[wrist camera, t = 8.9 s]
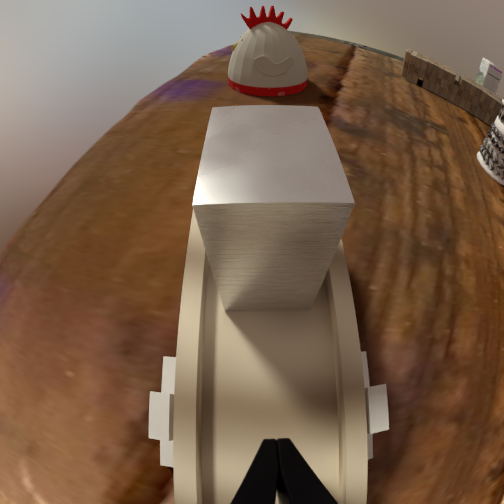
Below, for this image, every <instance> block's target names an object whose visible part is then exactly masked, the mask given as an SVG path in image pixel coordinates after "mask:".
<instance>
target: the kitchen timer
mask: <svg viewBox="0 0 504 504" xmlns="http://www.w3.org/2000/svg"><path fill="white" fill-rule="evenodd" d="M283 15H284V12H280V14H279V15H278V16H277V17H276V16H275V10H274V6H271V8H270V12H269V16H268V17H266V13H265V9H264V6H262V8H261V11H260V16H259V17H256V15H255V13H254V11H253V8H252V7H250V17H249V18H246V17H245V16H244V15H243V14H241V16H242V18H243V20H244V21H245V23H246V24H247V26H248V27H249V29H248V30H247V31H246V32H245V33H244V34H243V35H242V36H241V37H240V39H239V40H238V42H237V43H236V44H235V45H234V46H233V47H232V49H233V53H232V56H231V59H230V63H229V68H228V81H229V86H230V87H231V88H232V89H234V90H236V91H238V92H241V93H245V94H249V95H257V96H284V95H291V94H295V93H298V92H300V91H303V90H304V89H305V88H306V87H307V66H306V62H305V59H304V55H303V52H302V49H301V47H300V45H299V43H298V42H297V40H296V39H295V37H294V36H293V35H292V34H291V33H290V32H289V31H288V30H287V28H288V27H289V25H290V24H291V22H292V18H290V19H289V20H288V21H287V22H286V23H285V24H282V18H283Z"/></svg>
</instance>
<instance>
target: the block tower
mask: <svg viewBox="0 0 504 504" xmlns="http://www.w3.org/2000/svg"><path fill="white" fill-rule="evenodd" d="M401 76H403V77H405V78H406V81H409V82H411V83H413V84H416V85H417V81H418V77H420V78H423V84H422V88H424V89H426V90H428V91H430V92H433V93H435V94H437V95H439V96H440V97H442V98H444V99H446V100H448V101H450V102H452V103H454V104H455V105H457V106H459V107H461V108H462V109H464V110H466V111H467V112H469V113H471V114H472V115H474V116H476V117H477V118H479V119H480V120H482V121H484V122H485V123H487V124H488V125H490V126H491V124H493V123H494V122H495V120H496V118H497V116H499V114H500V111H501V109H502V107H503V103H502V100H503V99H502V98H501V97H500V96H498V95H496V94H494V93H492V92H491V91H489V90H487V89H486V88H485V87H483V86H482V85H480V84H478V83H477V82H475V81H473V80H472V79H470V78H468V77H466V76H462V75H460V77H459V81H457V80H455V77H456V74H455V71H454V70H453V69H451V68H449V67H447V66H444V65H443V64H441V63H438V62H437V61H434V60H433V59H431V58H428V57H426V56H424V55H422V54H419V53H416V52H414V51H412V50H410V49H407V50H406V54H405V58H404V63H403V68H402V73H401Z"/></svg>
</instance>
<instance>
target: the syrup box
mask: <svg viewBox="0 0 504 504" xmlns="http://www.w3.org/2000/svg"><path fill="white" fill-rule="evenodd" d="M502 73H503V71H502V70H501V69H500V68H499V67H497V66H496V65H495V64H493V63H492V62H490V61H489V60H487V59H485V58H483V59H482V62H481V66H480V69H479V72H478V75H477V78H476V81H475V82H477V83H478V84H480V85H482V86H483V87H485V88H486V89H487V90H489V91H491V92H492V93H494V94H496V91H497V88H498V85H499V83H500V80H501V77H502Z"/></svg>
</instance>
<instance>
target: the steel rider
mask: <svg viewBox="0 0 504 504" xmlns="http://www.w3.org/2000/svg"><path fill="white" fill-rule="evenodd" d="M354 204H355V202H354V199H353V196H352V193H351V190H350V187H349V184H348V181H347V178H346V176H345V173H344V170H343V167H342V164H341V162H340V159H339V156H338V154H337V151H336V148H335V146H334V143H333V141H332V138H331V136H330V133H329V131H328V129H327V126H326V124H325V121H324V119H323V117H322V114H321V112H320V110H319V108H318V107H312V106H288V105H251V106H227V107H212V111H211V116H210V120H209V124H208V129H207V133H206V138H205V142H204V147H203V152H202V157H201V161H200V166H199V172H198V177H197V182H196V187H195V193H194V199H193V204H192V205H193V209H194V213H195V216H196V220H197V223H198V227H199V230H200V234H201V237H202V240H203V244H204V247H205V250H206V254H207V257H208V260H209V264H210V267H211V270H212V273H213V277H214V280H215V283H216V286H217V289H218V292H219V295H220V299H221V302H222V305H223V308H224V311H225V312H237V311H285V310H309V309H311V307H312V305H313V303H314V300H315V298H316V296H317V294H318V292H319V289H320V287H321V285H322V283H323V280H324V278H325V276H326V273H327V271H328V269H329V267H330V264H331V262H332V259H333V257H334V255H335V252H336V250H337V247H338V245H339V242H340V240H341V237H342V235H343V232H344V230H345V227H346V225H347V222H348V220H349V217H350V214H351V212H352V209H353V206H354Z"/></svg>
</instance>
